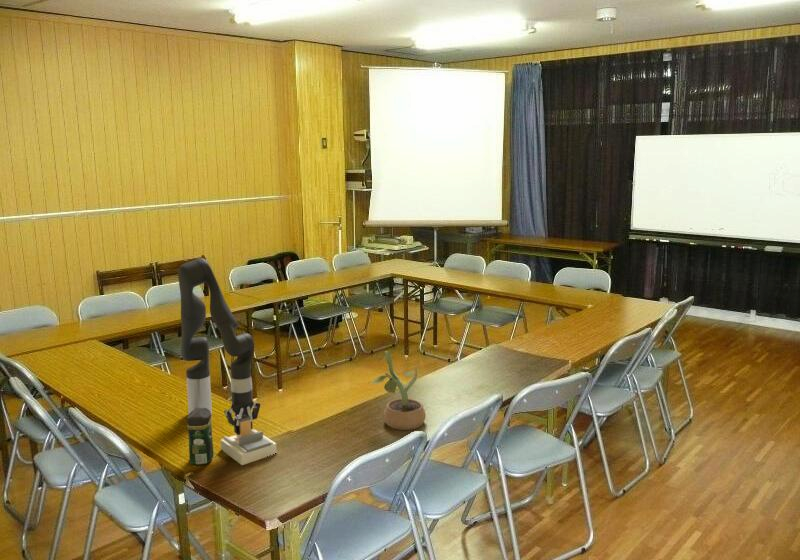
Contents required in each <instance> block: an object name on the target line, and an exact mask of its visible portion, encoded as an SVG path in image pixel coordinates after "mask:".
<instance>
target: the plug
mask: <svg viewBox="0 0 800 560" xmlns="http://www.w3.org/2000/svg"><path fill="white" fill-rule="evenodd" d="M239 425H240V435H237V434H236V433H235V435H236V437H238V438H239V437H242V436H245V435H249V434H251V417H249V416H247V415H243V416H242V417H241V419H240V424H239Z"/></svg>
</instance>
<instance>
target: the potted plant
mask: <svg viewBox="0 0 800 560" xmlns="http://www.w3.org/2000/svg"><path fill="white" fill-rule="evenodd" d="M383 353H384V355H382V356H381V357H380V358H379V359H378V363H379V362H380V361H381V360H382V359H383V358H384V357H385V358H386V362H387V364H388V370H389V374H388V373H387V372H386V373H384V375H380V376H378V377H377V378H375V379H374V381H373V382H371V384H370V386H371V385H376V384H379V383H382V382H383V381H384V380H386V378H388V381H387V382H386V383H385V384H384V387H383V389H384V390H385V391H386V392H388V393H393V394H394V393H395V392H396V390H397V388H398V389H399V393H400V396H401V398H399V399H398V398H397V399H393V400H391V401H389V402H388V403H387V404H386V406H385V408H384V411H383V420H384V422H385V423H386V425H387V426H388V427H390V428H392V429H395V430H399V431H410V430H416V429H418V428H420V427H421V426H422V425H423V424H424V422H425V419H426V415H427V414H426V411H425V408H424V406H423V404H422V403H421V401H418V400H415V399H411V398H409V395H408V393H407V392H408V391H409V390H410V389H411V387H413V385H414V384H415V383H416V381H417V378H418V370H417V369H418V368H417V367H416V368H415V370H411V371H404V372H402V373H403V375H404V376H406V377H409V376H411V375H412V374H414V375H413V377H412V378H411V380H410V381H409V382H408V383H407V384H406V385H404V384H403V382H402V381H401V380H400V377H399V376H398V375H397V374H396V372H395V371H394V367H393V361H392V355H391V354H390V352H389V351H387V350H384V352H383Z"/></svg>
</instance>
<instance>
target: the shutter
mask: <svg viewBox="0 0 800 560" xmlns="http://www.w3.org/2000/svg"><path fill="white" fill-rule="evenodd" d="M257 431H258V430H257ZM263 435H264V431H262V430H260V431H258V432H255V433H252V434H249V435H245V436H242V437H239V445H240V446H241V447H242V448H244V449H245V450H247V452H249V451H252V450H255V449H258V448H262V447H265V446H268V445H270V442H269V441H267V440H266V439H264V438H263Z"/></svg>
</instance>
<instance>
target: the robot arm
mask: <svg viewBox="0 0 800 560" xmlns="http://www.w3.org/2000/svg"><path fill="white" fill-rule="evenodd" d="M177 277H178V278H177V279H178V286H179V292H180V293H179V294H180V322H181V341H180V354H181V357H182V359H183V361H186V362H193V361H199V362H197V363H196V364H194V365H192V366H190V367H188V368H187V369H186V372H185V373H186V374H185V376H186V390H187V404H188V405H187V407H188V414H189V413H190V412H191V411H193V410H194V409H195V408H207V409H208V410H209V411H210V412H211V416H212V415H213V410H212V409H213V408H212V407H213V406H212V405H213V404H212V389H211V373H210V344H209V340H208V338H207V337H206V336H199V337H194V336H195V335H196V334H197V333H198V331H200V329H201V328H202V327H203V326H204V324H205V322H206V317H207V313H206V311H207V310H206V309H207V307H206V304H205V303H204V301H203V300H202V299H201V298H200V297H199V296H197V295H196V294H195V293H194V289H195V287H197V286H200V285H203V284H206V285H207V287H208V291H209V296H210V297H209V299H210V300H209V301H210V302H209V314H210V317H211V320H212V321H213V323H214V324H215V326H216V328H217V329H218V331H219V333H220V338H221V340H222V345H223V347H224V348H223V349H224V350H225V352H226V353H227V354H228V355H229V356H231V357H236V358H235V359H234V360H233V361H232V362H231V363H230V392H231V393H230V396H231V406H230V408H229V409H224V411H223V412H224V414H225V415H224V416H225V417H226V419H227V423H229V424H230V425H231V426H233V428H234V429H233V432H234V434H235V435H236V434H237V435H240V425H239V424H240V419H241V417H242V416H243V415H247V416H249V417H251V430H252V429H253V422H254V420H257V419H258V415H259V412H260V409H261V403H260V402H258V401H254V400H253V399H254V397H253V396H254V394H253V379H252V371H251V370H252V368H251V367H252V366H251V365H252V362H253V361H252V360H253V355H254V352H255V341H254V338H253V336H252V335H251V334H250V333H247V332H244V333H240V334H238V335H236V334H235V332H234V331H236V330H237V328H238V327H239V322H238V321H237V318H236V317H235V315H234V314H233V312H232V310H231V309H230V307H229V306H228V303H227V302H226V300H225V297H224V295H223V292H222V290H221V287H220V285H219V283H218V281H217V278H216V276H215V274H214V271H213V268H212V267H211V265H210V264H209V262H208V260H207V259H205V258H203V257H198V258H195V259H194V260H193V259H192V260H191V261H187V262H185V263H183V264H180V266H179V267H178V268H177ZM251 410H252V411H251ZM233 412H234V413H233Z"/></svg>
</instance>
